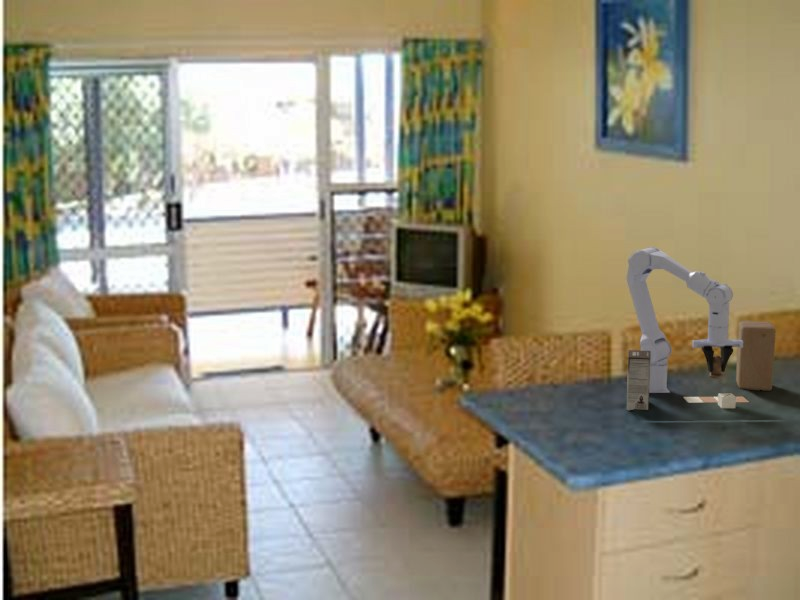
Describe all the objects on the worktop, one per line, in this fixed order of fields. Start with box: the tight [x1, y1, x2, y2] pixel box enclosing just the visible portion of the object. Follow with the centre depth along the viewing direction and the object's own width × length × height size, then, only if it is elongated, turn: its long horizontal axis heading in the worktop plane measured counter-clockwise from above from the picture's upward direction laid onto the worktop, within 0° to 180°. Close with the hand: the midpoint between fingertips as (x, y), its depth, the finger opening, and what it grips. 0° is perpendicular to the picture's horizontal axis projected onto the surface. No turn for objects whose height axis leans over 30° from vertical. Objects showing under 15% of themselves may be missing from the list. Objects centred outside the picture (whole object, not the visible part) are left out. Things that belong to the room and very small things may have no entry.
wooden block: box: [735, 320, 777, 392], centre depth 348 cm, size 10×10×20 cm
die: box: [717, 392, 737, 409], centre depth 326 cm, size 4×4×4 cm
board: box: [683, 396, 750, 404], centre depth 334 cm, size 18×6×1 cm, turn 91°
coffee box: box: [626, 349, 651, 411], centre depth 327 cm, size 9×6×16 cm
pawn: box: [709, 355, 724, 379], centre depth 331 cm, size 4×4×6 cm
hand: (716, 371), depth 332 cm, fingers closed on pawn, 3 cm apart
